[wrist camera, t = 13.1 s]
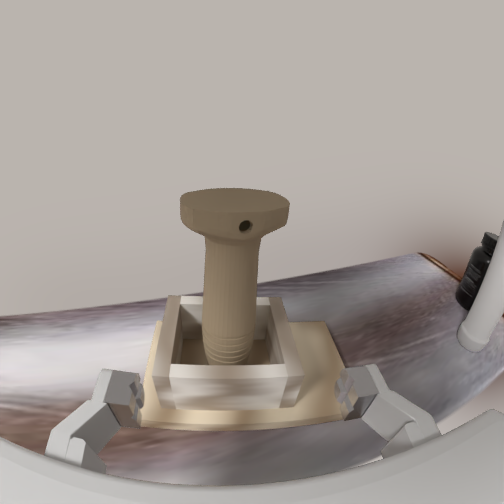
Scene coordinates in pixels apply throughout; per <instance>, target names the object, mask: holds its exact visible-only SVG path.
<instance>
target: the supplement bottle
mask: <svg viewBox="0 0 504 504" xmlns="http://www.w3.org/2000/svg"><path fill="white" fill-rule="evenodd" d="M498 238H499V236H497V235H495V234H492V233H489V232H485V234H484V237H483V239H482V242H481V243H482V246H479V247H476V248H475V249H474V250H473V253H472V255H471V257H470V260H469V263H468V265H467V268H466V271H465V273H464V276H463V278H462V280H461V282H460V285H459V287H458V290H457V292H456V298H457V300H458V302H459V303H460V304H461V305H462V306H463V307H464V308H466V309H467V310H469V311H470V309H471V307H472V305H473V303H474V301H475V299H476V296H477V294H478V292H479V289H480V287H481V285H482V282H483V280H484V277H485V275H486V272H487V270H488V267H489V264H490V262H491V259H492V256H493V253H494V250H495V247H496V244H497V241H498Z"/></svg>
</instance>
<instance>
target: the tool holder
mask: <svg viewBox="0 0 504 504" xmlns="http://www.w3.org/2000/svg"><path fill="white" fill-rule="evenodd" d="M202 307H203V296H172V295H169V296H168V300H167V304H166V308H165V313H164V317H163V321H157V323H156V327H155V331H154V336H153V340H152V345H151V349H150V354H149V358H148V363H147V368H146V373H145V378H144V383H143V388H144V393H145V400H144V406H143V407H142V408H141V409H140V411H141V414H142V420H141V426H144V427H153V428H163V429H176V430H195V431H245V430H264V429H277V428H288V427H297V426H305V425H312V424H319V423H326V422H332V421H337V420H343V417H342V414H341V411H340V406H341V404H340V403H339V402H338V401H337V400H336V398H335V393H334V386H335V383H336V381H337V380H338V379H339V378H340V372H341V370H342V369H344V368H345V366H344V364H343V362H342V360H341V357H340V355H339V353H338V350H337V348H336V346H335V344H334V341H333V339H332V337H331V335H330V332H329V330H328V328H327V326H326V324H325V321H313V322H288V318H287V315H286V312H285V309H284V306H283V302H282V299H281V297H257V300H256V325H255V333H254V340H253V345H252V349H251V353H250V356H249V358H248V361H247V363H248V365H208V362H207V357H206V354H205V350H204V344H203V336H202Z"/></svg>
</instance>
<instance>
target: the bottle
mask: <svg viewBox="0 0 504 504" xmlns="http://www.w3.org/2000/svg"><path fill="white" fill-rule="evenodd" d="M503 313H504V221H503V225H502V228H501V232H500V235H499V238H498V241H497V244H496V247H495V250H494V253H493V256H492V259H491V262H490V264H489V267H488V270H487V272H486V275H485V277H484V280H483V282H482V285H481V287H480V289H479V292H478V294H477V296H476V299H475V301H474V303H473V305H472V307H471V309H470V311H469V313H468V315H467V318H466V320H464V321H463V322H462V323H461V325H460V327H459V330H458V334H457V338H458V341H459V342H460V344H461V345H462V346H463V347H464V348H466V349H467V350H469V351H471V352H480V351H481V350H483V349H484V347H485V346H486V345H487V343H488V341H489V340H490V335H491V333H492V332H493V330H494V328H495V327H496V325H497V323H498V321H499V320H500V318H501V316H502V314H503Z"/></svg>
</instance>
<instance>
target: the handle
mask: <svg viewBox="0 0 504 504" xmlns="http://www.w3.org/2000/svg"><path fill="white" fill-rule="evenodd" d="M289 205H290V203H289V201H288V200H287V199H286V198H284V197H282V196H281V195H279V194H276V193H273V192H269V191H262V190H253V189H242V188H220V189H219V188H217V189H206V190H199V191H193V192H188V193H185V194H183V195H182V196H181V198H180V215H181V220H182V222H183V224H184V225H185V226H187V227H188V228H189V229H191V230H192V231H194V232H196V233H199V234H201V235H203V236H205V244H206V255H205V274H204V291H203V307H202V336H203V344H204V350H205V354H206V357H207V362H208V365H248V363H247V361H248V358H249V356H250V353H251V349H252V345H253V340H254V333H255V325H256V300H257V274H258V255H259V247H260V242H261V238H262V237H263V236H264V235H266V234H268V233H270V232H273V231H275V230H277V229H279V228H281V227H283V226H285V225H286V223H287V219H288V213H289Z"/></svg>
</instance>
